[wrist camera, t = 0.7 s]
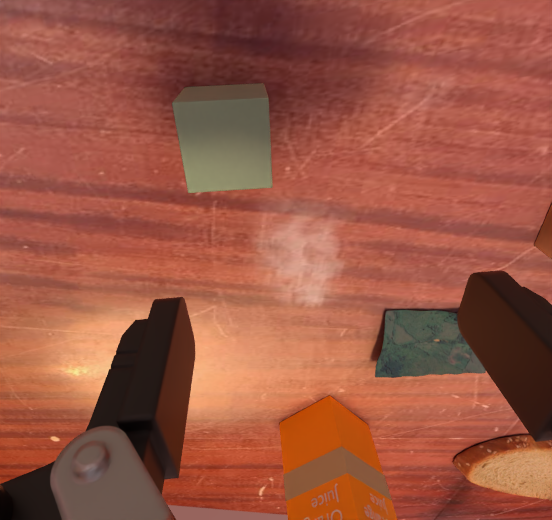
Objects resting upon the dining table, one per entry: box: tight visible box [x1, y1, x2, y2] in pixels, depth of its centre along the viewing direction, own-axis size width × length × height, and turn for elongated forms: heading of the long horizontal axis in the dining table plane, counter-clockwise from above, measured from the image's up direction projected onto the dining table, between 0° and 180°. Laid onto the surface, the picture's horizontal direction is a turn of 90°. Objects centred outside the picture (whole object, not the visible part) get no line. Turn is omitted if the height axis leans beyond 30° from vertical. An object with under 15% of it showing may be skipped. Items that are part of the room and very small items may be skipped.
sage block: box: [172, 83, 272, 193], centre depth 22 cm, size 5×5×5 cm
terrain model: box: [375, 310, 486, 378], centre depth 37 cm, size 13×8×2 cm, turn 85°
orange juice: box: [279, 395, 397, 520], centre depth 37 cm, size 8×9×20 cm
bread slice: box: [453, 435, 552, 500], centre depth 52 cm, size 18×18×4 cm
